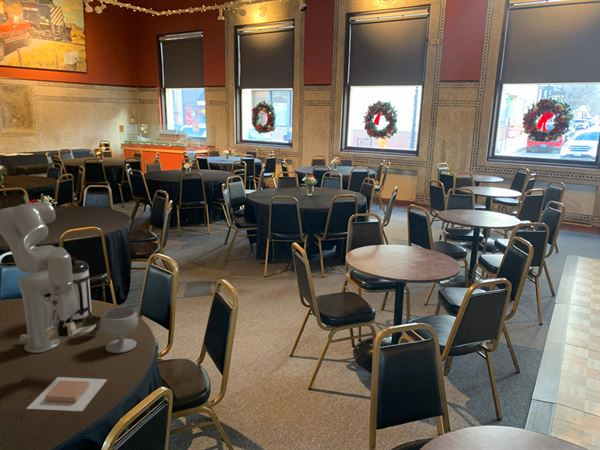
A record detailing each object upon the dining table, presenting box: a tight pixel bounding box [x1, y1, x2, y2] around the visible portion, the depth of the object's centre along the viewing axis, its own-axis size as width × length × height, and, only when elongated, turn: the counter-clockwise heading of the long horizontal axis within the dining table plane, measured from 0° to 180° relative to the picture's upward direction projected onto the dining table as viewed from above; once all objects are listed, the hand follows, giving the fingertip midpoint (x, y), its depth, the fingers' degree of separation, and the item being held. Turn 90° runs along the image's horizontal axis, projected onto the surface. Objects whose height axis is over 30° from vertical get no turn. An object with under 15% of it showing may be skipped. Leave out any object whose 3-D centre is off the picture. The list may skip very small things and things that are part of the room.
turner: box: [44, 321, 96, 341], centre depth 162 cm, size 17×5×4 cm, turn 88°
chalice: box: [100, 307, 139, 354], centre depth 183 cm, size 14×14×15 cm
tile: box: [45, 380, 89, 402], centre depth 149 cm, size 10×2×9 cm
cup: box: [81, 315, 102, 338], centre depth 192 cm, size 8×7×8 cm
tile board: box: [25, 376, 108, 412], centre depth 150 cm, size 18×18×2 cm
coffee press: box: [71, 256, 93, 321], centre depth 205 cm, size 17×16×30 cm
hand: (65, 333), depth 163 cm, fingers closed on turner, 2 cm apart
